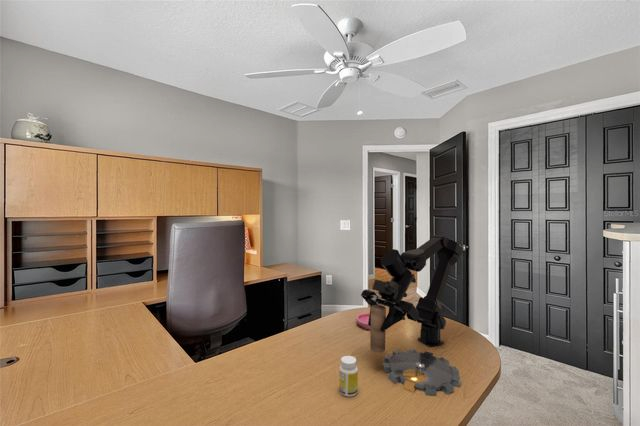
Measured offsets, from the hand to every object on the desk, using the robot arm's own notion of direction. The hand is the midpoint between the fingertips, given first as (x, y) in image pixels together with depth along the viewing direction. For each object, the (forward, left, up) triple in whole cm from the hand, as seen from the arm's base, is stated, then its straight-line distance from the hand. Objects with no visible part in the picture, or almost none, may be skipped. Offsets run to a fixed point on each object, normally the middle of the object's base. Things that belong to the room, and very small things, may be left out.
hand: (375, 328), depth 85 cm
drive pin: (-1, 0, -7) cm, 7 cm away
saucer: (-19, -28, -13) cm, 36 cm away
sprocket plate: (-12, +6, -12) cm, 18 cm away
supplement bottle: (+12, +5, -13) cm, 19 cm away
